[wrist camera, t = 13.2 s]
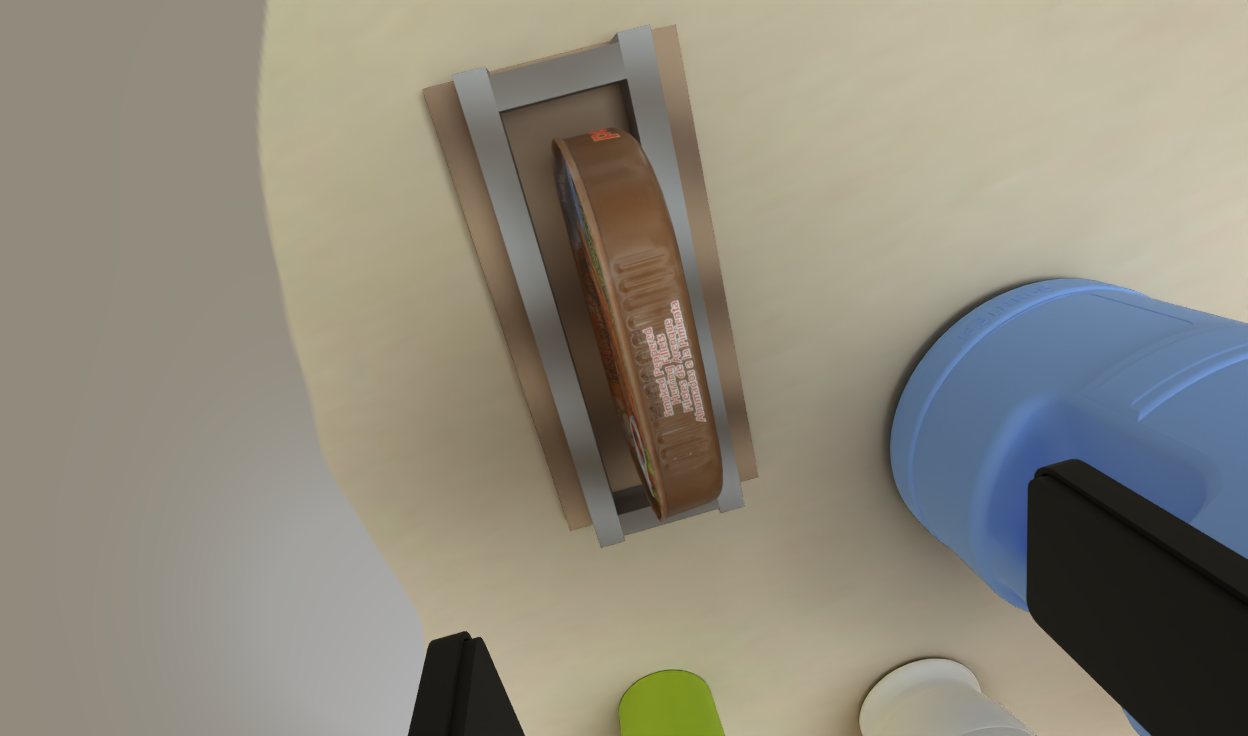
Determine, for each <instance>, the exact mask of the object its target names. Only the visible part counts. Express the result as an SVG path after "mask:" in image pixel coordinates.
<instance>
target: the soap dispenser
mask: <svg viewBox="0 0 1248 736" xmlns="http://www.w3.org/2000/svg"><path fill="white" fill-rule="evenodd" d="M619 721H620V728H621V735H622V736H725V734H724V731H723V728H722V725H721V722H720V719H719V715H718V712H717V709H716V706H715V703H714V700H713V697H712V693H711V691H710V688H709V687H708V685H707V684H706V683H705V681H704V680H702V679H701V678H700V677H698V676H696V675H694V674H692V673H689V672H685V671H678V670H669V671H662V672H658V673H654V674H651V675H649V676H647V677H644V678H643V679H641V680H639V681H638V682H636V683H635V684H634V685H633V686H631V687H630V688H629V690H628V691H627V692H626V693H625V695H624V696H623V698H622V700H621V702H620V706H619Z"/></svg>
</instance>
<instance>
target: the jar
mask: <svg viewBox="0 0 1248 736" xmlns="http://www.w3.org/2000/svg"><path fill="white" fill-rule="evenodd" d="M859 723H860V729H861V733H862V735H863V736H1036V735H1035V734H1034V733H1033V732H1032V731H1031V730H1030V729H1029V728H1028V727H1027V726H1026V725H1025V724H1024V723H1023V722H1022V721H1021V720H1020V719H1018V718H1017V717H1016V716H1015V715H1014V714H1012V713H1011V712H1010V711H1009V710H1007V709H1006V708H1005V707H1003V706H1002V705H1000V704H999V703H997V702H996V701H994V700H993V699H991V698H989V697H987V696H986V695H984V694H982V693H981V689H980V686H979V683H978V681H977V679H976V677H975V676H974V675H973V673H972V672H971V671H970V670H969V669H968V668H966V667H965V666H963V665H962V664H960V663H957V662H955V661H951V660H947V659H924V660H919V661H916V662H912V663H909V664H907V665H904V666H902V667H900V668H898V669H896V670H894V671H893V672H891V673H889V674H888V675H887V676H885V677H884V678H883V679H882V680H880V681H879V682H878V683H877V684H876V685H875V686H874V688H873V689H872V690H871V691H870V692H869V694H868V696H867V697H866V699H865V701H864V703H863V705H862V708H861V712H860V718H859Z"/></svg>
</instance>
